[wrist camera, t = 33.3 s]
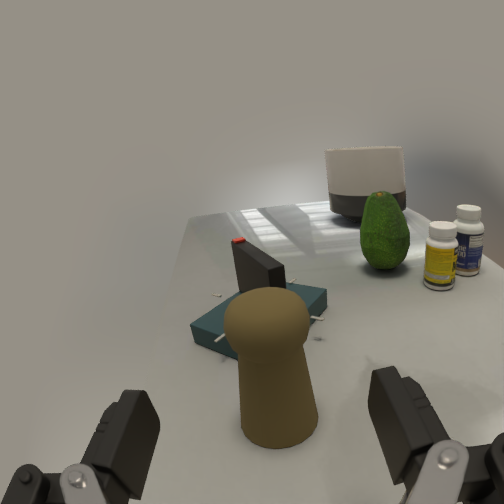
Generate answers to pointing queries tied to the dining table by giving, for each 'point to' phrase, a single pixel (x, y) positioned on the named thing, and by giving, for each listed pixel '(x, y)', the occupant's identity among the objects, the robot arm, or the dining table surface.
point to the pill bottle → (469, 239)
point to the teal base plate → (211, 324)
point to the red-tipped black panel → (256, 267)
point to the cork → (272, 366)
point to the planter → (363, 177)
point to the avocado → (384, 231)
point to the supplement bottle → (441, 255)
